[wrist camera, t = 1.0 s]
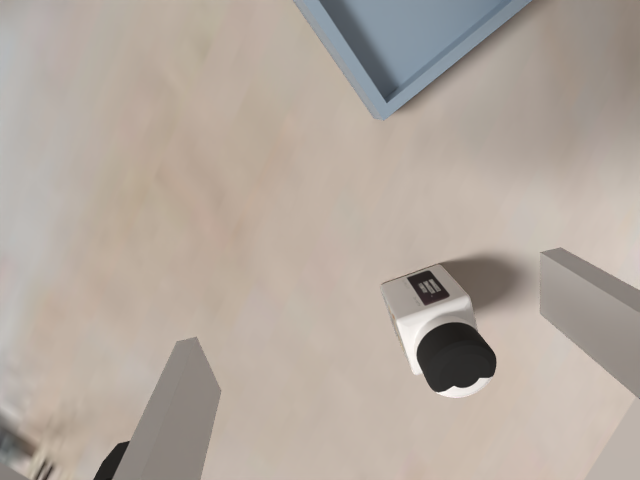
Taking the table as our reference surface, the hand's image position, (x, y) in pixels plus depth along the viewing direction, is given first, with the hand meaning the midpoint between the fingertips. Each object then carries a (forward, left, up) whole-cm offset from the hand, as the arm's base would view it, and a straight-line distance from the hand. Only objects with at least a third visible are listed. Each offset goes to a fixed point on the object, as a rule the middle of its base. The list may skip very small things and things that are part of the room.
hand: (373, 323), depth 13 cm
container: (+19, 0, -26) cm, 32 cm away
